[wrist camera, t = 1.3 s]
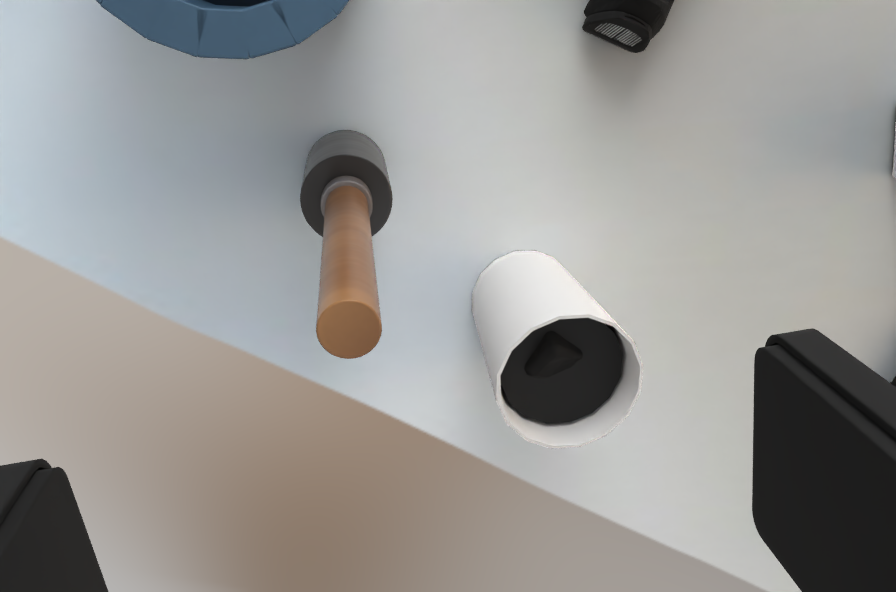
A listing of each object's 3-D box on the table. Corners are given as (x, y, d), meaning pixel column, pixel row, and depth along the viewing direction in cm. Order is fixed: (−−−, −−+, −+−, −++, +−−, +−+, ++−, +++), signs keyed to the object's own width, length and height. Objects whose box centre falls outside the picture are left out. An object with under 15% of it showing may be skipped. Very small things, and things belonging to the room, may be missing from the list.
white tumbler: (439, 318, 44) (465, 408, 35) (508, 219, 43) (554, 286, 33) (535, 373, 46) (583, 471, 37) (605, 280, 45) (673, 359, 35)
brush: (290, 177, 40) (246, 345, 22) (337, 113, 40) (332, 233, 21) (354, 223, 42) (364, 418, 23) (401, 162, 41) (450, 315, 22)
